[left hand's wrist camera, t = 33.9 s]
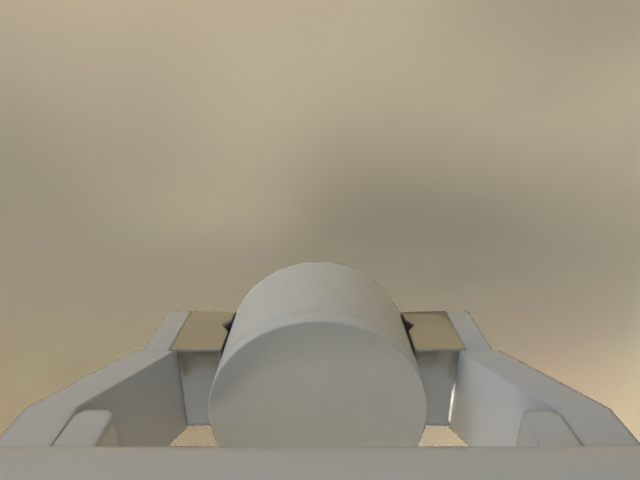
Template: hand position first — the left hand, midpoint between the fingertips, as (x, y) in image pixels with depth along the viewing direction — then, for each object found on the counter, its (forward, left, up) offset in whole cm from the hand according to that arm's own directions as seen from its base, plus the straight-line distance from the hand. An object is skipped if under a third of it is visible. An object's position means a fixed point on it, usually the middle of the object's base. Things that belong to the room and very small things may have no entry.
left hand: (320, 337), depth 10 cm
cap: (0, 0, +2) cm, 2 cm away
